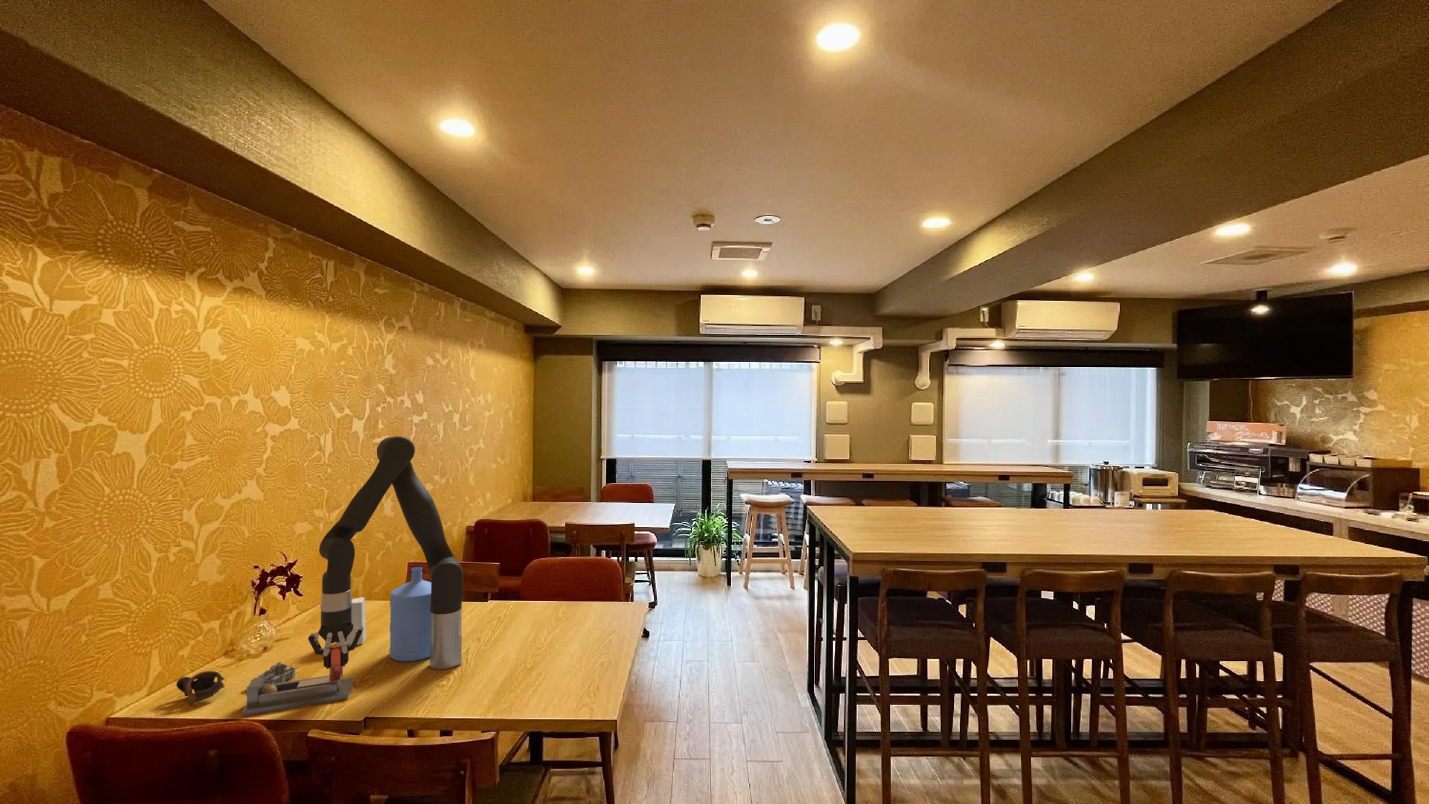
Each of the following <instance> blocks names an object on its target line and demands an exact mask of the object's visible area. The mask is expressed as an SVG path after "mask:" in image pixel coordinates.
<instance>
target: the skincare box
mask: <svg viewBox="0 0 1429 804" xmlns="http://www.w3.org/2000/svg"><path fill="white" fill-rule="evenodd" d="M365 602H366V599H365V597H356V598H352V624H353V626H354V627H357V628H360V627H363V631H362V634H361V636H360V638H359V640H358V642H357V645H358V646H359V645H363V644H364V643H365V641H366V640H367V639H366V638H367V631H366V630H367V628H366V605H365ZM353 633H354V632H353V631H351V633H350V634H349V635H348V637H347V640H348V646H349V645H351V644H352V642H353V640H354V638H355V636H354V635H353ZM335 645H341V644H340V642H335ZM357 645H356V646H357Z"/></svg>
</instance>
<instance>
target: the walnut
mask: <svg viewBox="0 0 1429 804" xmlns="http://www.w3.org/2000/svg"><path fill="white" fill-rule="evenodd" d="M273 692H277V688H276V686H274V685H267V686H265V687H264V688H263V689H262V691H261V694H267V693H273Z"/></svg>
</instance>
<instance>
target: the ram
mask: <svg viewBox="0 0 1429 804" xmlns="http://www.w3.org/2000/svg"><path fill="white" fill-rule="evenodd" d="M329 653H330V668H329V673H328V674H329V675H328V676H329V677H323V676H322V677H323V678H317V679H310V680H304V681H300V682H299V684H298V686H297V689H299V688H305V687H312V686H318V685H325V684H331V683H337V689H339V688H340V685H341V679H343V676H344V675H343V674H344V673H343V669H344V668H343V667H344V666H343V667H342V653H343V651H342V647H341V645H336V644H334V645H331V647H330V651H329Z"/></svg>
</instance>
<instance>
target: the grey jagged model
mask: <svg viewBox="0 0 1429 804" xmlns="http://www.w3.org/2000/svg"><path fill="white" fill-rule="evenodd" d="M296 669H298V667H296V666H290V667H289V668H288V665H287V664H285V663H281V661H279V662H276V663H275V664H273V665H272V666H270V668H269V669H267V670H265V671H264V672H263V673H261V674H258V675H257V676H256V677H255V678H259V677H264V687H265V686H266V685H269V684H276V683H283V682H286V681H289V680H293V679H295V678H296ZM252 680H253V678H252V679H251V680H249V682H251V681H252Z"/></svg>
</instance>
